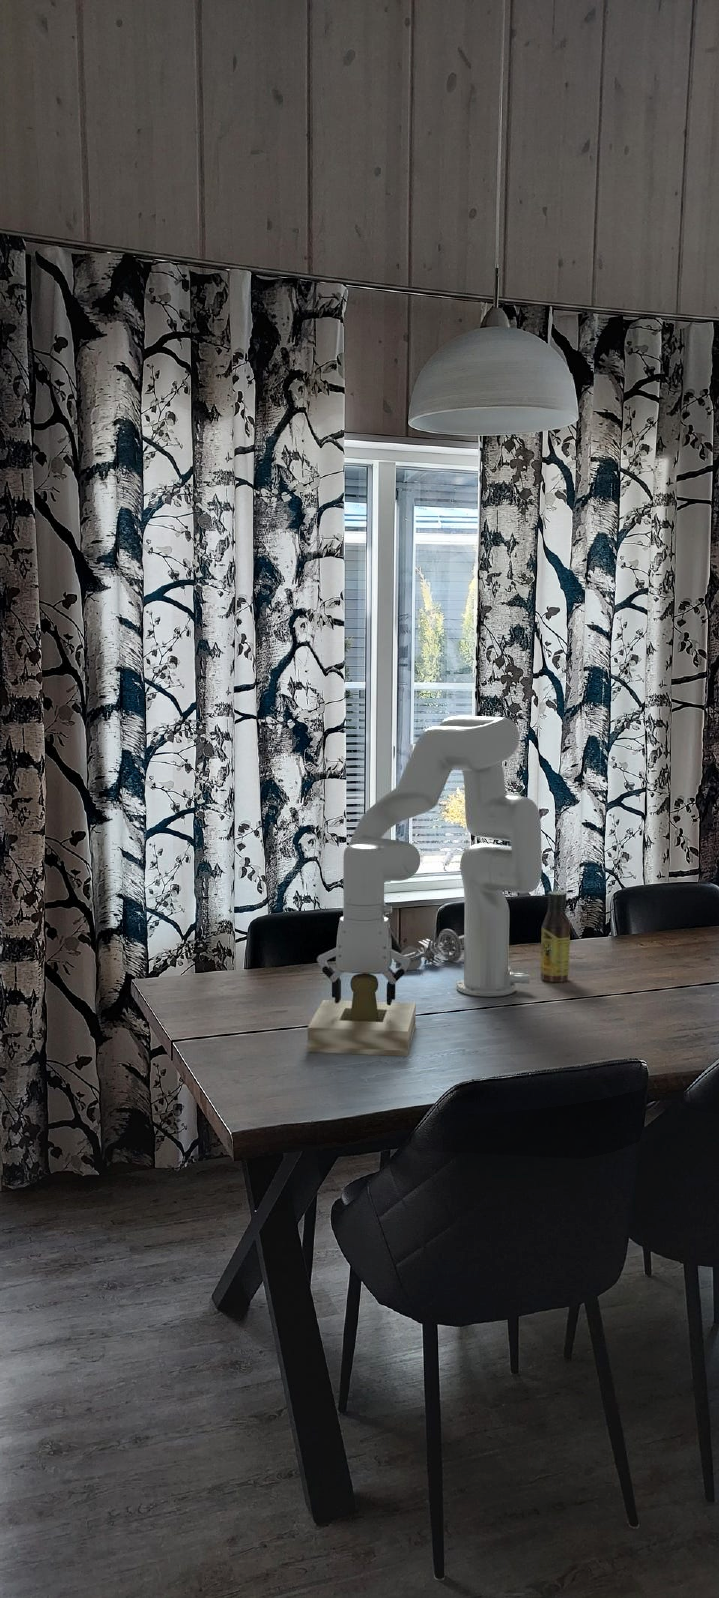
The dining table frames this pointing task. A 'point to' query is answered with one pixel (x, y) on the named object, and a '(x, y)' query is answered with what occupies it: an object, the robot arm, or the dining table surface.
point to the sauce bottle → (555, 940)
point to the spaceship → (434, 950)
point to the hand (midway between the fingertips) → (363, 1002)
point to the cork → (364, 998)
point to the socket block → (362, 1030)
